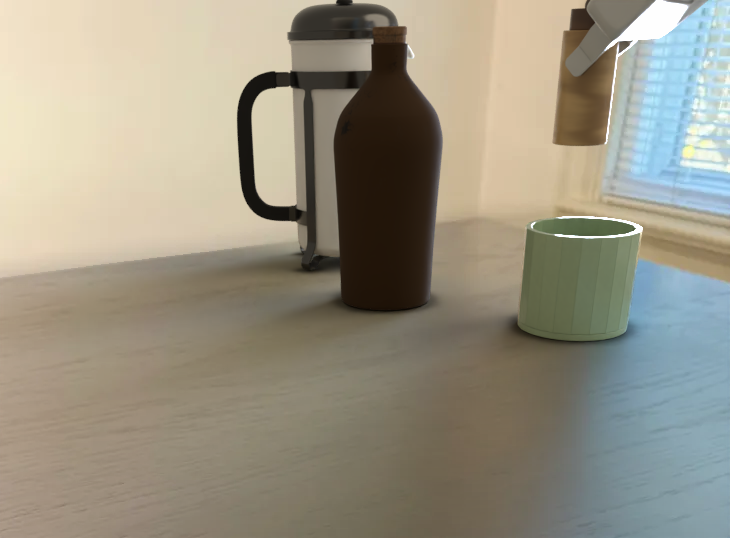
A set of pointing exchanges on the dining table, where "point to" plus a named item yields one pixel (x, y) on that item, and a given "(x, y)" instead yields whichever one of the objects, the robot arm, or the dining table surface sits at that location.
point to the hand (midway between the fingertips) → (580, 69)
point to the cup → (578, 277)
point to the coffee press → (314, 114)
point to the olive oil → (387, 183)
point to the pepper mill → (583, 90)
